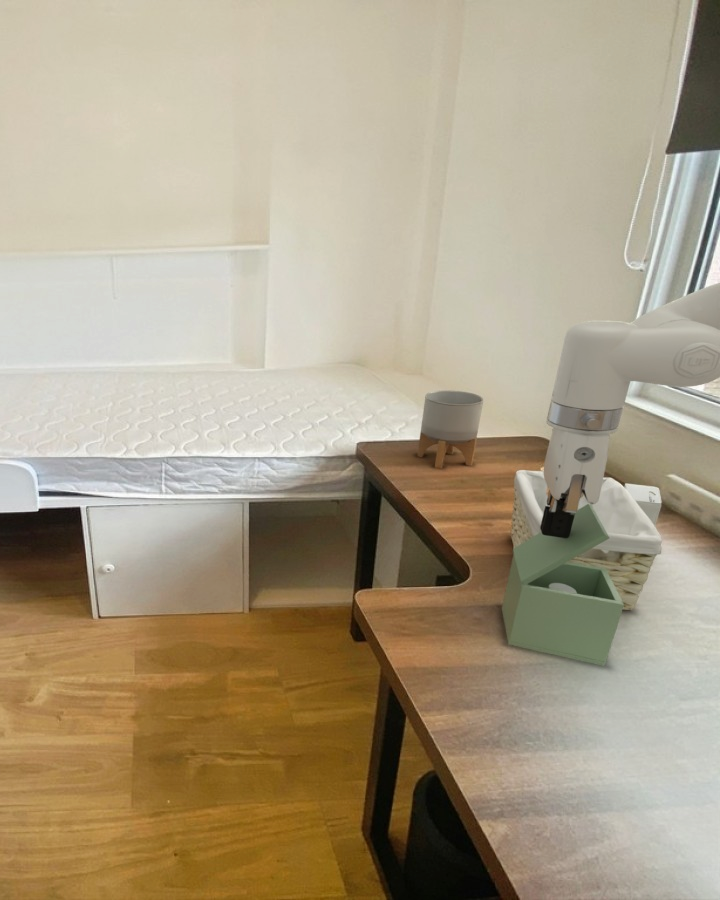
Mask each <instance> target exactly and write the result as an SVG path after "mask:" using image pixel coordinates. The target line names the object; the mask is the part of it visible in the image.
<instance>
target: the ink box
mask: <svg viewBox="0 0 720 900" xmlns="http://www.w3.org/2000/svg"><path fill="white" fill-rule="evenodd" d="M623 487H624V488H625V489H626V490H627V491H628V492H629V493H630V494H631V495H632V497H633V498H634V500H635V501H636V502H637V504H638V505H639V506H640V508H641V509H642V510H643V511H644V513H645V514H646V515H647V516H648V518H649V519H650V520H651V522H652V523H653V524H654V526H655V527H656V525H657V522H658V519H659V515H660V511H661V508H662V503H663V502H662V497H661V491H660V488H659V487H657V486H651V485H644V484H643V485H642V484H635V483H624V486H623Z"/></svg>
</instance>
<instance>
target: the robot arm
mask: <svg viewBox="0 0 720 900" xmlns="http://www.w3.org/2000/svg"><path fill="white" fill-rule="evenodd" d="M719 378H720V282H718V283H714V284H712V285H708V286H706V287H704V288H701V289H698V290H696V291H693V292H691V293H688V294H686V295H684V296H681V297H679V298H677V299H675V300H673V301H670V302H668V303H666V304H663V305H661V306H659V307H656V308H654V309H652V310H649V311H647V312H646V313H644V314H642V315H640V316H639V317H637V318H635V319H634V320H633V321H631V322H625V321H619V320H618V321H616V320H585V321H581V322H580V321H579V322H577V323H574V324H572V325H571V326H570V327H569V328H568V329H567V331H566V333H565V336H564V339H563V345H562V348H561V353H560V358H559V363H558V367H557V372H556V376H555V381H554V385H553V390H552V395H551V398H550V404H549V407H548V412H547V417H546V424H547V425H548V426H549V427H552V429H551V430H552V431H551V435H550V439H549V443H548V446H547V449H546V450H547V451H546V455H545V459H544V464H543V471H544V478H545V481H546V483H547V489H548V491H547V495H548V497H547V505H548V506H545V509H544V513H543V518H542V522H541V526H540V529H541V532H542V534H543V535H546V536H553V537H560V538H568V537H569V536H570V532H571V528H572V524H573V520H574V516H575V513H577V510H578V504H579V500H580V498H582V495H583V494H584V496H585V498H586V500H587V502H589V503H590V504H596V503H597V502H598V500H599V496H600V491H601V487H602V482H603V477H604V478H605V472H606V466H607V461H608V456H609V448H610V435H611V434H614V433H616V432H617V431H618V429H619V425H620V422H621V421H620V420H621V417H622V414H623V410H624V407H625V402H626V399H627V395H628V392H629V389H630V384H631V382H638V383H645V384H652V385H660V386H665V387H675V388H689V387H697V386H702V385H705V384H709V383H712V382H714V381H716V380H719Z"/></svg>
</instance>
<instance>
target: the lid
mask: <svg viewBox="0 0 720 900" xmlns="http://www.w3.org/2000/svg"><path fill="white" fill-rule="evenodd" d="M607 539H609V536H608V534H607V532H606V531H605V529H604V527H603V525H602V523H601V521H600V520H599V518H598V516H597V514H596V512H595V511H594V509H593V507H592V506H591V505H590V504H587V505H585V506H584V507H582V508H580V509H579V510H577V513H575V516H574V520H573V524H572V528H571V532H570V536H569V537H568V538H560V537H553V536H546V535H543V534H542V532H540V533H539V534H537V535H535V536H534V537H532V538H530V539H529V540H527V541H525V542H524V543H522V544H520V545H519V546H517V547H515V548H514V547H513V549H512V552H513V555H514V557H515V561H516V565H517V569H518V573H519V577H520V581H521V583H523V584H524V585H526V584H528V583H530V582H532V581H533V580H535V579H537V578H539V577H541V576H543V575H544V574H546V573H548V572H550V571H552V570H553V569H555V568H557V567H559V566H561V565H562V564H564V563H566V562H568V561H570V560H571V559H573V558H575V557H577V556H579V555H580V554H582V553H584V552H586V551H588V550H589V549H591V548H593V547H595V546H597V545H598V544H600V543H602V542H604V541H606V540H607Z"/></svg>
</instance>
